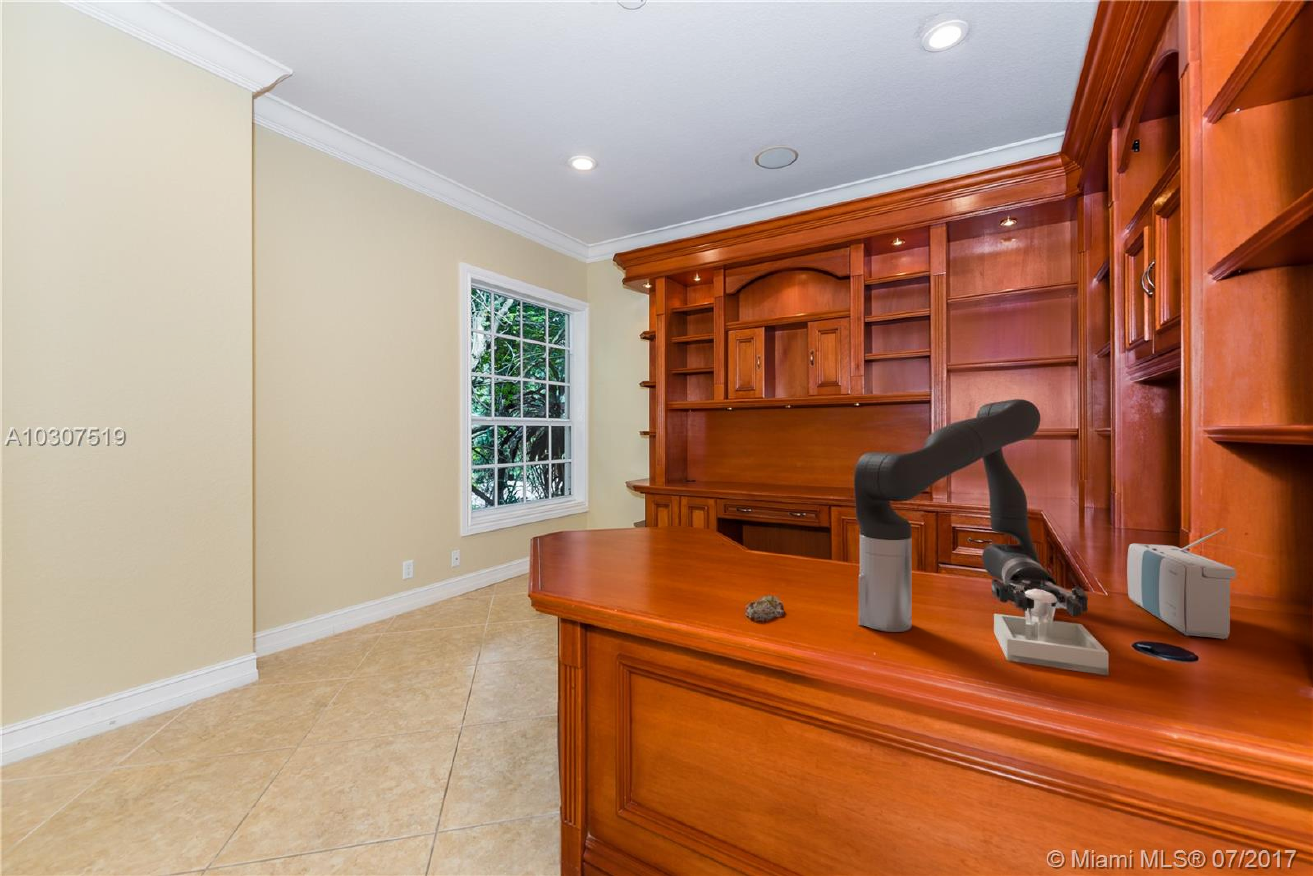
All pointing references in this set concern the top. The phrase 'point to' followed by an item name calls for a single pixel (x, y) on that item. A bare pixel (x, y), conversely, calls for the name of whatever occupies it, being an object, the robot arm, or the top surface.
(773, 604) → the mineral rock
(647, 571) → the top surface
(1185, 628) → the stereo radio cassette player
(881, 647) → the top surface
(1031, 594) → the milkshake
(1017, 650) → the tray
